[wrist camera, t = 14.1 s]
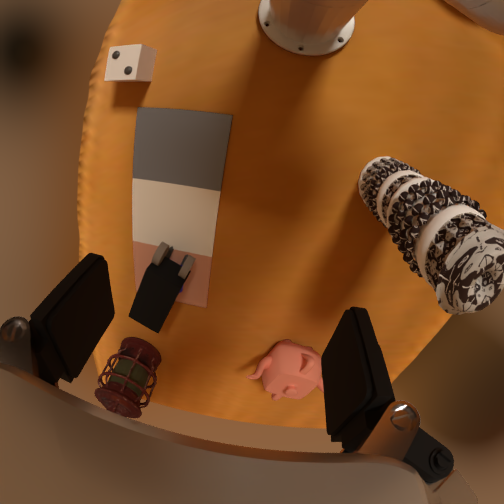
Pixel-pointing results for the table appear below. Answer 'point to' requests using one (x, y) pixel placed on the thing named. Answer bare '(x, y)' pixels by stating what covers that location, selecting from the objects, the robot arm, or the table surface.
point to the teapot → (290, 370)
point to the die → (130, 63)
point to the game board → (178, 190)
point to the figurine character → (160, 288)
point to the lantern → (129, 378)
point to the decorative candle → (437, 234)
